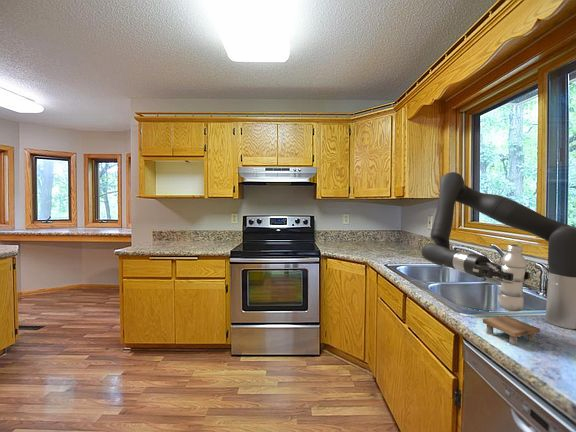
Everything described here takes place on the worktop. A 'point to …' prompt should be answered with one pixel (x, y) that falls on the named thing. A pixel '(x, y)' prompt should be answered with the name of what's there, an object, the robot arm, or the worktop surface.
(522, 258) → the plastic bottle
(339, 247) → the worktop surface
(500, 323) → the pegged shelf
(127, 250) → the worktop surface
